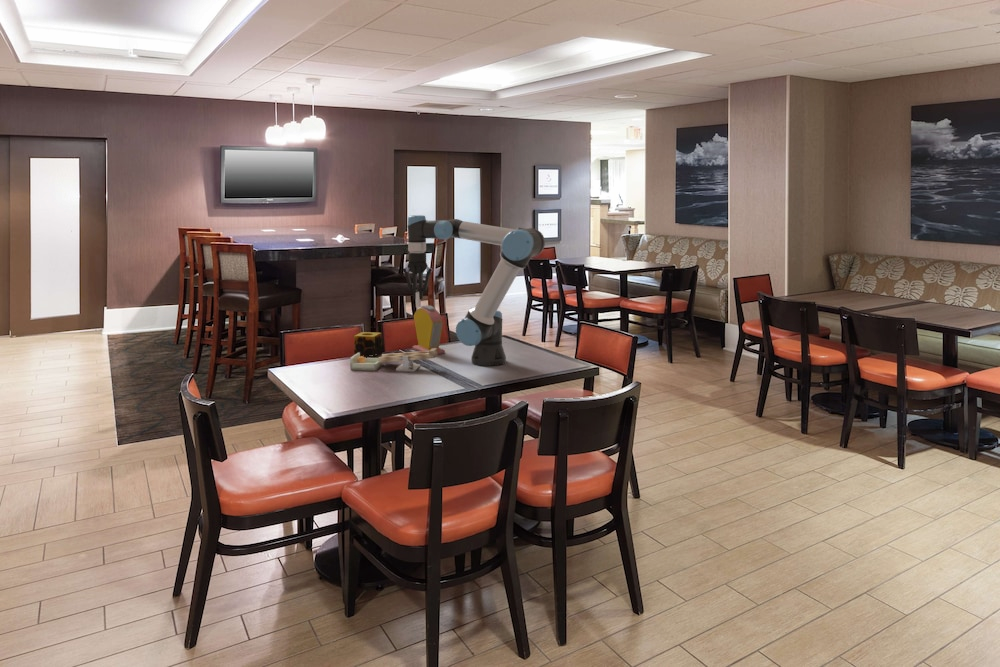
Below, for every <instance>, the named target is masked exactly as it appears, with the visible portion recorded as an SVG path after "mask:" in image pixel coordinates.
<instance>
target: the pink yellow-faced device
mask: <svg viewBox="0 0 1000 667" xmlns="http://www.w3.org/2000/svg"><path fill="white" fill-rule="evenodd" d="M413 321H414V324H415V325H414V326H415V332H416V333H415V334H416V340H417V343H418V344H417V345H416V344H415V345H412V346H411V348H412V350H414V351H415V352H420V351H430V350H431V349H432V348H437V356H438V355H444V354H445V353H446V351H445V349H443V348H440V342H441V335H442V330H443V325H444V319H443V318H442V315H441V314H440V312H439V311H438V310H437V309H436V308H435V307H434V306H433V305H421V307H419V308H417V309H416V310H415V312H414V314H413Z"/></svg>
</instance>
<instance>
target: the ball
mask: <svg viewBox="0 0 1000 667" xmlns="http://www.w3.org/2000/svg"><path fill="white" fill-rule="evenodd" d="M357 362H358V363H365V362H366V359H365V358H364V357H363V356H360V357H358V359H357Z"/></svg>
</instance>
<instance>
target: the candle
mask: <svg viewBox="0 0 1000 667" xmlns="http://www.w3.org/2000/svg"><path fill="white" fill-rule="evenodd" d="M382 337H383V336H382V332H371V331H368V332H367V331H361V332H359V333H357V334H354V336H353V338H354V339H353V340H354V351H353V352H354V354H353V355H355V354H357V353H360V356H363V355H364V356H363V357H364V358H365V357H367V358H378V357H379V356H382V354H383V350H384V349H383V343H382V342H383V340H382ZM375 354H377V355H375ZM369 355H373V356H369ZM378 355H379V356H378ZM377 356H378V357H377Z"/></svg>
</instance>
